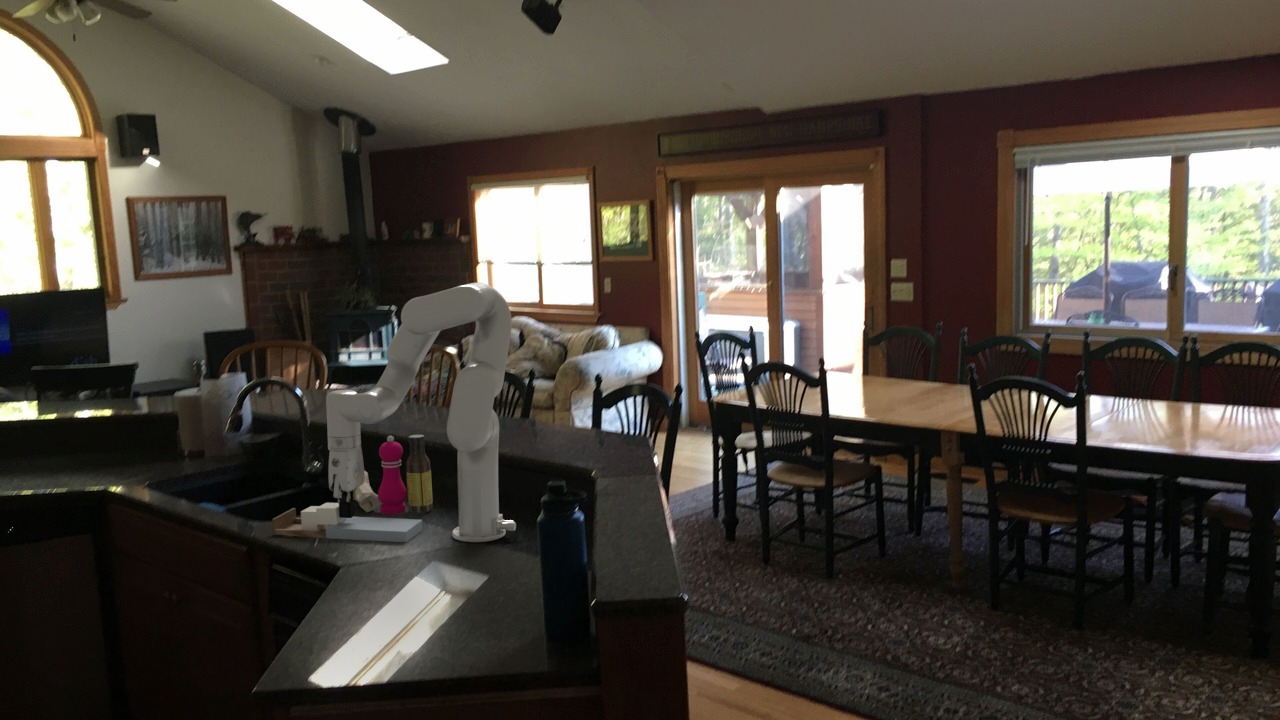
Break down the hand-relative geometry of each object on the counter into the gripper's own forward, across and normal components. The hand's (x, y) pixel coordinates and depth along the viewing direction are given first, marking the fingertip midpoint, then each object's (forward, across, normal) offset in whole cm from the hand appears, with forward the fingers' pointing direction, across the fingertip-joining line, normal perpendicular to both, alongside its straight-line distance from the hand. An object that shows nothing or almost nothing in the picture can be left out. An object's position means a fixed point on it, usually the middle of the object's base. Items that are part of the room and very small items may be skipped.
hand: (347, 516), depth 236 cm
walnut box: (+4, 0, +10) cm, 11 cm away
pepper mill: (+4, +19, -3) cm, 20 cm away
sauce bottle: (+4, +21, -10) cm, 24 cm away
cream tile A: (+1, 0, +4) cm, 4 cm away
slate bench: (+4, 0, -7) cm, 8 cm away
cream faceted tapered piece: (+4, +26, +9) cm, 27 cm away
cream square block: (+1, 0, +6) cm, 7 cm away
